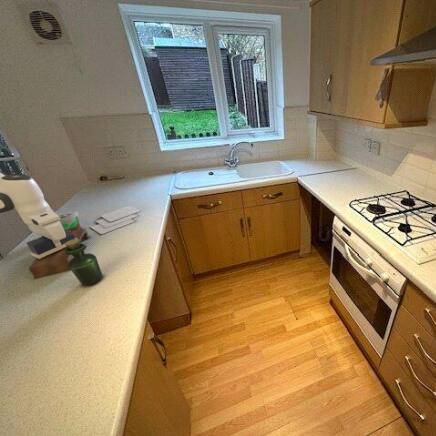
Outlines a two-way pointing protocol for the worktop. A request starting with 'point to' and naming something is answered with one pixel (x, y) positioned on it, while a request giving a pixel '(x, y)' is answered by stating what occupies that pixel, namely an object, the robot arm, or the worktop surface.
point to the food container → (70, 222)
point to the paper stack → (115, 219)
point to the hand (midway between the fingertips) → (54, 244)
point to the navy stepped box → (47, 245)
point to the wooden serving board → (56, 259)
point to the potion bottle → (83, 264)
